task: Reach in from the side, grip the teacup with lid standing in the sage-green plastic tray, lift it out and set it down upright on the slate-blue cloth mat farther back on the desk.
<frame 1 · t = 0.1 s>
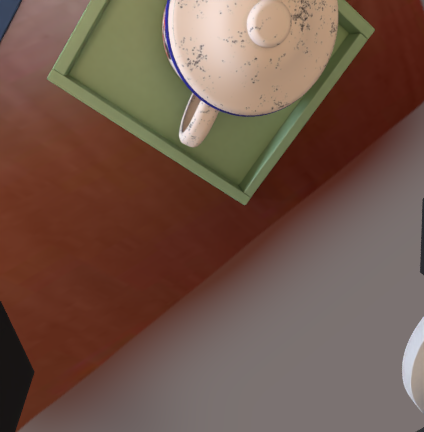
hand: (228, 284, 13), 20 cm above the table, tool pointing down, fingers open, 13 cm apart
tray: (213, 53, 29), on the table
teacup with lid: (213, 53, 29), resting on tray
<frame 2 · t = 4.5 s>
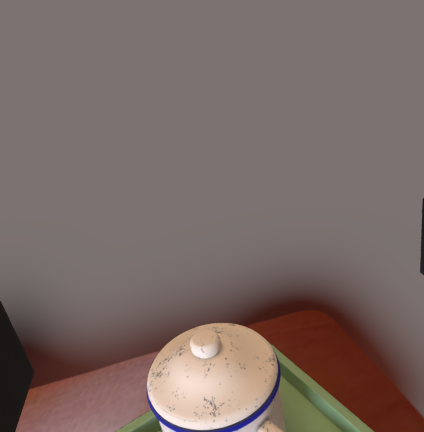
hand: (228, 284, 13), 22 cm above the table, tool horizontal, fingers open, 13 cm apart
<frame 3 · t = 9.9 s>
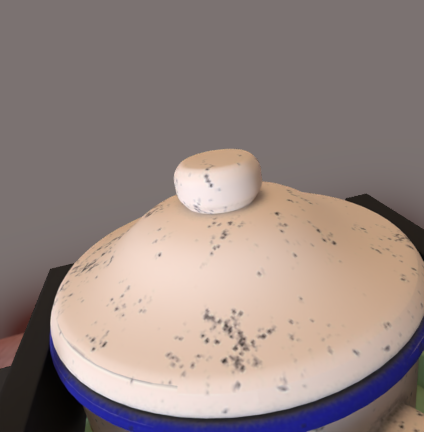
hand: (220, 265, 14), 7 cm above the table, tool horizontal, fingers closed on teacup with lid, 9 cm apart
when the fingers open (8 cm above the table, at t = 19.9 s): teacup with lid stays where it is, resting on mat.
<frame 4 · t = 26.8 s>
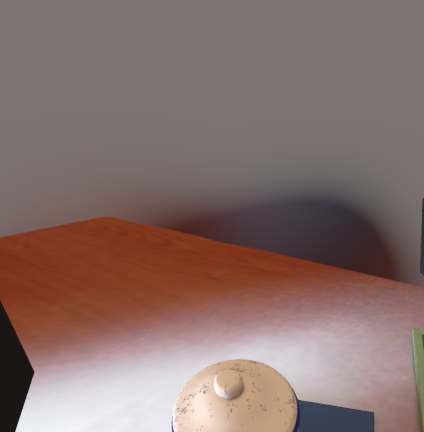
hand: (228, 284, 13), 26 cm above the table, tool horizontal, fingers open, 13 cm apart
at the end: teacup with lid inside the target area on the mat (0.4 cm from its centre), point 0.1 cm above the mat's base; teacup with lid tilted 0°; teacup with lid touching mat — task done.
